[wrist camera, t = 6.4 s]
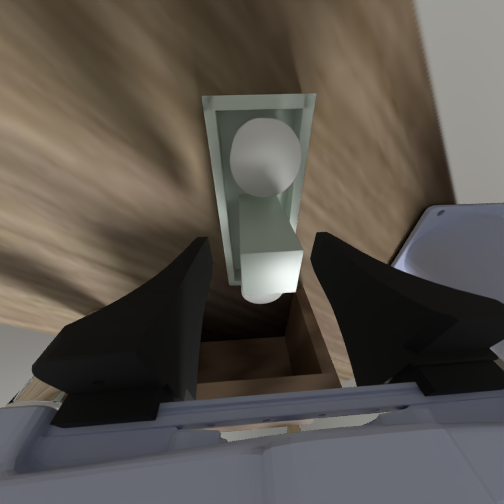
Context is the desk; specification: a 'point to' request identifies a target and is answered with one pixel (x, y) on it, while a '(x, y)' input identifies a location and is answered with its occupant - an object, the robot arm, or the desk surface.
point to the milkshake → (39, 393)
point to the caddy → (259, 186)
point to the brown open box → (268, 364)
